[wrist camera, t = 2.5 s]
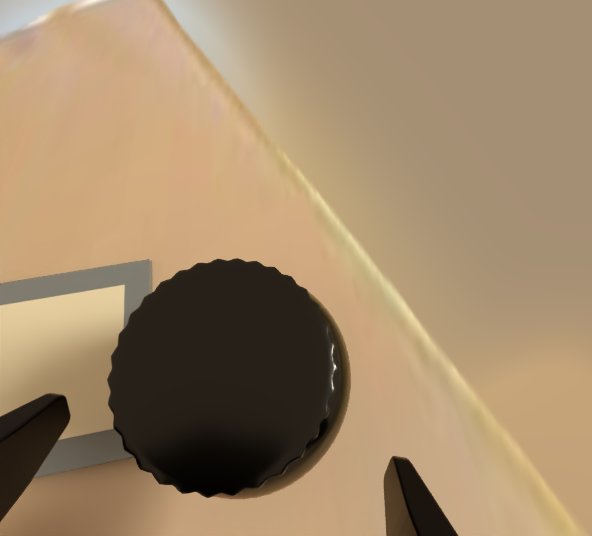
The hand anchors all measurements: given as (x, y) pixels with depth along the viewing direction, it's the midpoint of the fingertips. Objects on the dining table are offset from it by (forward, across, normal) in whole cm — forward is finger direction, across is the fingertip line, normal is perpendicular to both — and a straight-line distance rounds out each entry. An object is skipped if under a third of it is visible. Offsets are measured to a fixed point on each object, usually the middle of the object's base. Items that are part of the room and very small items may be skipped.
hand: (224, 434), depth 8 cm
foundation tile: (+7, +12, +6) cm, 15 cm away
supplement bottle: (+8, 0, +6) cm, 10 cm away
